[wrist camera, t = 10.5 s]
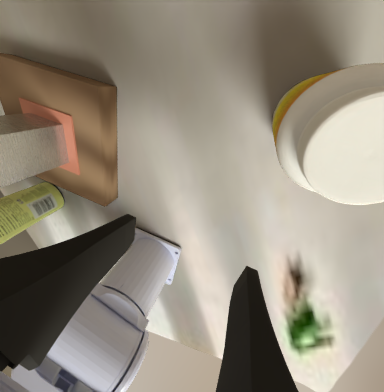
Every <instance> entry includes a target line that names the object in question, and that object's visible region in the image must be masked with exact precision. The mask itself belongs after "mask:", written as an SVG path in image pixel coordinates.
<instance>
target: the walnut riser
mask: <svg viewBox="0 0 384 392" xmlns="http://www.w3.org/2000/svg"><path fill="white" fill-rule="evenodd" d="M0 100H1V103H2V106H3V109H4V112H5V115H13V114H23V113H32V114H35V115H38V116H41V117H43V118H46V119H49V120H52V121H54V122H57V123H60V124H63V128H64V134H65V140H66V146H67V152H68V157H69V163H67V164H64V165H61V166H59V167H56V168H53V169H51V170H48V171H45V172H42V173H40V174H37V175H34V176H36V177H39V178H41V179H43V180H45V181H48V182H50V183H52V184H55V185H57V186H59V187H61V188H64V189H66V190H68V191H70V192H73V193H75V194H77V195H80V196H82V197H84V198H86V199H89V200H91V201H93V202H95V203H98V204H100V205H102V206H107V205H108V204H110V203H111V202H112V201H114V200H115V199H117V198H118V179H117V87H115V86H112V85H109V84H106V83H102V82H99V81H96V80H93V79H89V78H86V77H83V76H80V75H76V74H73V73H70V72H67V71H63V70H60V69H57V68H54V67H50V66H47V65H44V64H41V63H37V62H34V61H31V60H28V59H24V58H21V57H18V56H14V55H11V54H3V53H0Z"/></svg>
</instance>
